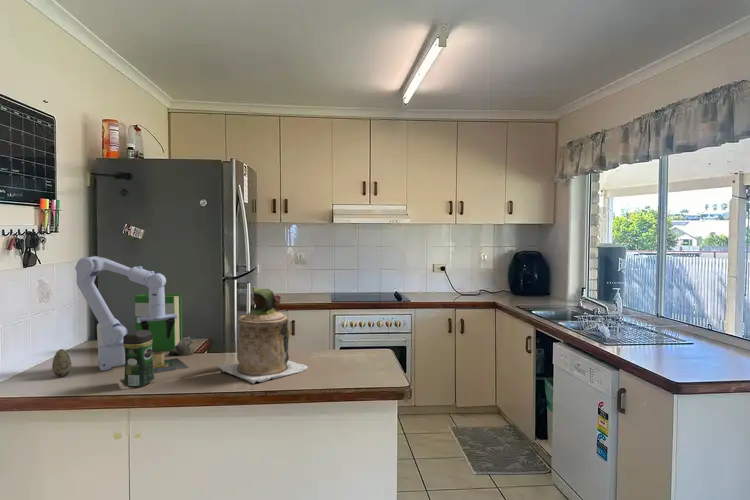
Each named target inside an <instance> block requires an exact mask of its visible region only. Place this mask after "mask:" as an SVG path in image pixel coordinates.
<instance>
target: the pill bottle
mask: <svg viewBox="0 0 750 500" xmlns="http://www.w3.org/2000/svg"><path fill="white" fill-rule="evenodd" d="M113 317H114V318H115V316H114V315H113ZM99 329H100V323H99V322H98V323H97V325H96V335H97V336H96V337H97V348H98V347H99V346H103V345H104V342H103V341H102V338H101V332H100V331H99Z"/></svg>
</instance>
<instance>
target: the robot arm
mask: <svg viewBox="0 0 750 500" xmlns="http://www.w3.org/2000/svg"><path fill="white" fill-rule="evenodd" d="M74 270H75V273H76V286H77V287H78V289H79V291H80V293H81V294H82V296H83V297H84V300H85V301H86V303H87V304H88V306H89V308H90V309H91V311H92V313H93V315H94V316H95V317H94V318H96V320H97V321H98V323H100V329H99V331H100V332H101V338H102V341H103V342H104V345H103V346H99V347H98V346H97V359H98V360H97V363H98V365H97V366H98V368H99V370H100V371H110V370H113V368H114V367H120V366H123V365H124V366H125V349H124V346H123V337H124V336H125V335H126V334H128V329H127V327H126V326H124V325H123V324H122V323H121V322H120V320H118V319H117V318H115V316H114V315H113V313H112V311H110V308H109V307H108V305H107V303H106V301H105V299H104V298H103V296H102V294H101V293H100V290H99V289H98V288H97V285H96V284H95V280H96V277H97V276H98V275H99V274H100V272H101V271H109V272H113V273H116V274H119V275H123V276H125V277H127V278H128V279H129V281H131V282H133V283H137V284H140V285H143V286H146V287H147V288H148V294H149V316H144V317H137V323H140V325H141V327H142V329H143V330H149V324H148V323H147V322H151V321H160V320H166V337H167V338H170V333H171V330H172V327H173V325H174V323H175V320H174V319H177V314H165V294H166V293H165V292H166V291H165V285H166V284H167V278H166V277H165V275H164V274H162V273H161V272H156V273H155V271H153V270H151V271H150V270H146V269H144V267H143V266H140V265H138V266H132V267H130V266H129V267H128V266H127V265H124V264H121V263H119V262H116V261H114V260H111V259H109V258H105V257H101V256H98V255H93V256H89V257H87V256H85V257H82V258H80V259H78V261H77V262H76V264H75V267H74ZM113 316H114V317H113ZM153 319H155V320H153Z"/></svg>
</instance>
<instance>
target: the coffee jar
mask: <svg viewBox="0 0 750 500" xmlns="http://www.w3.org/2000/svg"><path fill="white" fill-rule="evenodd" d="M152 342H153V338H152V333H151V332H150V330H138V331H136V330H134V331H133V332H129V333H127V334H126V335H125V336H124V337H123V346H124V349H125V364H124V385H125V386H127V387H128V388H139V387H145V386H146V385H148V384H150V383H152V382H151V381H153V380H155V373H154V370H153V360H152V353H153V351H152Z"/></svg>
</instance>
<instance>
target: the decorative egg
mask: <svg viewBox="0 0 750 500" xmlns="http://www.w3.org/2000/svg"><path fill="white" fill-rule="evenodd" d="M51 369H52V372H53V374H54V375H55V376H57V377H59V378H60V377H61V378H62V377H65V376H67V375H69V373H70V372H71V370H72V360H71V358H70V355H69V353H68V352H67V351H66V350H65V349H63V348H61V349H58V351H56V353H55V355H54V357H53V359H52V367H51Z"/></svg>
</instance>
